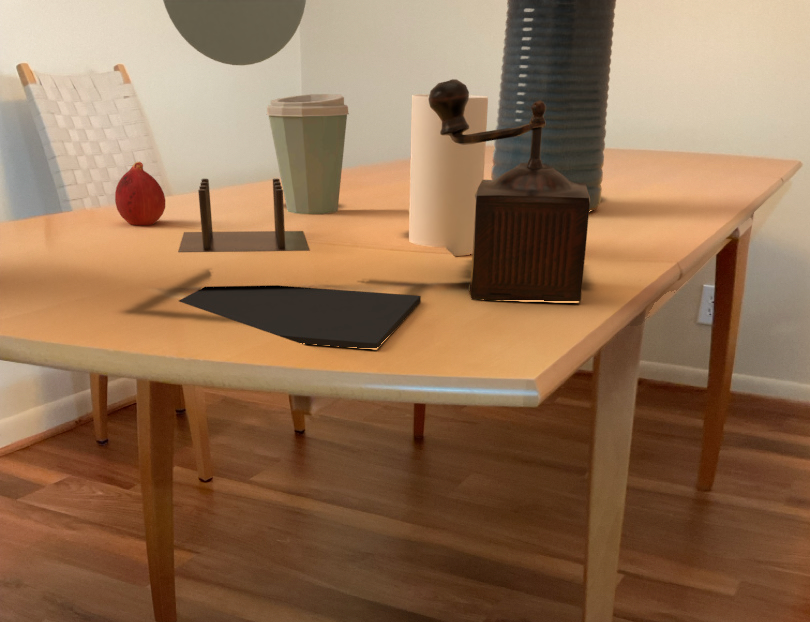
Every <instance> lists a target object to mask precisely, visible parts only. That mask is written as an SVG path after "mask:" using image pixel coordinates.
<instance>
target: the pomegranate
mask: <svg viewBox="0 0 810 622" xmlns="http://www.w3.org/2000/svg"><path fill="white" fill-rule="evenodd" d="M114 201H115V202H114V203H115V206H116V210H117V212H118V213H119V215H120V217H121V218H122V219H123V220H124V221H125V222H127V223H128V224H129V225H131V226H140V227H141V226H142V227H143V226H144V227H145V226H152V225H154V224H156V223H157V222H158V221H159V220H160V218H162V216H163V215H164V212H165V209H166V196H165V193H164V191H163V188H162V186H161V184H160V183H159V182H158V181H157V180H156V178H154V177H153V176H152V175H151V174H150V173H148V172H147V171H145V170H144V164H143V162H141V161H136V162H134V163H133V165H131V167H130V169H129V170H128V171H127V172H125V173H124V174H123V175H122V177H121V178H120V179H119V180H118V182H117V185H116V187H115V192H114Z"/></svg>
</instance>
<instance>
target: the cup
mask: <svg viewBox="0 0 810 622" xmlns="http://www.w3.org/2000/svg"><path fill="white" fill-rule="evenodd" d="M429 95H430V93H422V94H421V93H419V94H418V93H417V94H412V95H411V116H410V117H411V118H410V120H411V122H410V126H411V127H410V161H409V162H410V163H409V164H410V165H409V172H410V173H409V213H408V214H409V215H408V216H409V218H408V219H409V220H408V242H409V243H411V244H414V245H417V246H422V247H429V248H440V249H441V248H443V249H446V250H447V251H448V252H449V253H451V255H452V256H454V257H461V256H462V257H463V256H471V255H473V238H474V222H475V207H476V199H475V194H476V192H477V190H478V187H479V185H480V183H481V181H482V180H485V179H484V177H485V163H486V161H485V160H486V144H487V141H486V142H480V143H475V144H467V145H461V144H458V143H455V142H454V141H453V140H452V139H451V137H450V136H448V135H441V134H440V131H441V129H442V121H441V119H440V118H439V116H438V115H437V114H436V112H435V111H434V110H433V109H432V108H431V107H430V104H429V100H428V99H429ZM488 106H489V97H488V96H487V95H486V96H485V95H477V94H476V95H475V94H469V99H468V102H467V104H466V106H465V111H464V118H465V120H466V122H467V124H468V125H469V129H468V130H466V131H465V132H463V135H467V134H475V133H480V132H486V131H487V127H488V126H487V125H488V108H489V107H488ZM470 254H471V255H470Z"/></svg>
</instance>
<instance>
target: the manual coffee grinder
mask: <svg viewBox="0 0 810 622" xmlns="http://www.w3.org/2000/svg"><path fill="white" fill-rule="evenodd" d="M429 94H430V95H429V99H428V100H429V104H430V107H431V108H432V109H433V110H434V111H435V112H436V114H437V115H438V116H439V118H440V119H441V121H442V129H441V131H440V134H441V135H448V136H450V137H451V139H452V140H453V141H454V142H455V143H458V144H461V145H467V144H475V143H480V142H486V143H487V142H492V141H494V140H498V139H504V138H510V137H516V136H520V135H522V134H524V133H526V132H528V131H530V130H532V138H531V153H530V159H529V161H528V163H520V164H519V165H518V166H516V167H515V168H513V169H512V170H509V171H508V172H506V173H504V174H502V175H501V176H500V177H499V178H498V179H497V180H492V179H484V180H482V181H481V183H480V185H479V187H478V190H477V192H476V194H475V199H476V207H475V222H474V238H473V254H471V270H470V280H469V281H470V282H469V284H468V285H469V286H468V292H470V293H469V295H471V296H470V299H471V298H472V299H471V300H474V299H484V300H544V301H580V302H581V300H582V297H583V293H582V292H583V291H582V286H583V278H584V269H585V262H586V261H585V260H586V258H585V257H586V250H587V249H586V248H587V239H588V229H589V217H590V215H589V214H590V212H589V205H590V197H589V193H588V190H587V187H586V185H585V183H574V182H571V181H569V180H568V179H567V178H566V177H564V176H563V175H562V174H561V173H560V172H558V171H556V170H555V169H554V168H553V167H551V166H550V165H547V164H542V161H541V159H540V151H541V137H542V128H543V127H544V126H546V121H545V119H544V117H543V115H544V113H545V110H546V105H545V104H544V102H542V101H537V102H534V104H533V105H532V107H531V109H532V114H533V117H532V118H531V119H530V123H529V124H525V125H521V126H518V127H515V128H506V129H499V130H495V129H493V130H486V132H480V133H475V134H467V135H463V132H465V131H466V130H468V129H469V125H468V124H467V122H466V120H465V118H464V111H465V106H466V104H467V102H468V99H469V95H470V91H469V89H468V86H467V85H466V84H465V83H463V82H462V81H460V80H458V79H456V78H455V79H454V78H452V79H449V80H445V81H442V82H438V83H437V84H436V85H435V86H434V87H433V88H432V89H431V90H430V92H429Z"/></svg>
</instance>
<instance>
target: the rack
mask: <svg viewBox="0 0 810 622" xmlns="http://www.w3.org/2000/svg"><path fill="white" fill-rule="evenodd" d="M210 192H211V191H210V181H209V178H201V179H200V185H199V188H198V202H199V214H200V225H201V226H200V227H201V231H183V233H182V237H181V241H180V244H179V247H178V251H177V252H178V253H228V252H229V253H233V252H234V253H238V252H239V253H240V252H241V253H242V252H243V253H245V252H246V253H247V252H249V253H250V252H310V251H311V249H310V247H309V244H308V240H307V237H306V235H305V232H304V230H286V229H285V208H284V207H285V205H284V192H283V187H282V182H281V178H272V195H273V197H272V198H273V216H274V231H273V230H263V231H262V230H261V231H259V230H258V231H255V230H254V231H253V230H252V231H251V230H250V231H249V230H247V231H213V222H212V221H213V220H212V206H211V205H212V204H211V193H210Z"/></svg>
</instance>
